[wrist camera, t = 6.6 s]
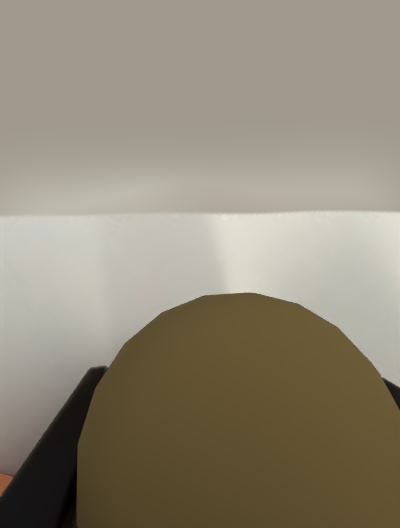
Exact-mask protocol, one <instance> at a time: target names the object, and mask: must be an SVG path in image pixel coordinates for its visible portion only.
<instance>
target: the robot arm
mask: <svg viewBox="0 0 400 528" xmlns="http://www.w3.org/2000/svg"><path fill="white" fill-rule="evenodd" d="M107 370H108V367H107V366H98V367H92V368H90V369H89V370H88V371H87V373H86V374H85V376H84V377H83V379H82V380H81V381H80V383H79V384H78V386H77V387H76V389H75V390H74V391H73V393H72V394H71V396H70V397H69V399H68V400H67V401H66V403H65V404H64V406H63V407H62V409H61V410H60V411H59V413H58V414H57V416H56V417H55V419H54V420H53V421H52V423H51V424H50V426H49V427H48V429H47V430H46V432H45V433H44V434H43V436H42V437H41V439H40V440H39V442H38V443H37V444H36V446H35V447H34V449H33V450H32V452H31V453H30V454H29V456H28V457H27V459H26V460H25V462H24V463H23V464H22V466H21V467H20V469H19V470H18V472H17V473H16V474H15V476H14V477H13V479H12V480H11V482H10V483H9V484H8V486H7V487H6V489H5V490H4V492H3V493H2V494H1V496H0V528H78V525H77V510H76V507H77V452H78V442H79V439H80V436H81V432H82V429H83V426H84V423H85V419H86V416H87V413H88V410H89V406H90V403H91V400H92V397H93V394H94V390H95V388H96V386H97V385H98V383H99V382H100V380H101V379H102V377H103V376H104V374H105V373H106V371H107ZM382 379H383V381H384V383H385V384H386V386H387V388H388V390H389V392H390V393H391V395H392V397H393V399H394V401H395V403H396V404H397V406H398V408H399V410H400V387H398V386H396V385H394V384H393V383H391V382H389V381H387V380H386V379H384V378H382Z"/></svg>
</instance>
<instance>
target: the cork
mask: <svg viewBox="0 0 400 528" xmlns="http://www.w3.org/2000/svg"><path fill="white" fill-rule="evenodd" d="M76 510H77V525H78V528H400V410H399V408H398V406H397V404H396V403H395V401H394V399H393V397H392V395H391V393H390V392H389V390H388V388H387V386H386V384H385V383H384V381H383V379H382V377H381V375H380V374H379V372H378V371H377V370H376V368H375V367H374V366H373V364H372V363H371V362H370V361H369V360H368V359H367V358H366V357H365V356H364V355H363V354H362V352H361V351H360V350H359V349H358V348H357V347H356V346H355V345H354V344H353V343H352V342H351V341H350V340H349V339H348V338H347V337H346V335H345V334H344V333H343V332H342V331H341V330H340V329H339V328H338V327H336V326H334V325H333V324H331V323H329V322H328V321H326V320H324V319H323V318H321V317H319V316H318V315H316V314H314V313H313V312H311V311H309V310H308V309H306V308H304V307H303V306H301V305H299V304H297V303H293V302H289V301H285V300H281V299H277V298H273V297H269V296H265V295H261V294H257V293H235V294H221V295H206V296H202V297H199V298H197V299H194V300H192V301H189V302H187V303H184V304H182V305H179V306H177V307H175V308H172V309H170V310H167V311H165V312H162V313H161V314H160V315H158V316H157V317H156V318H155V319H154V320H152V321H151V322H150V323H149V324H148V325H146V326H145V327H144V328H143V329H142V330H140V331H139V332H138V333H137V334H136V335H134V336H133V337H132V338H131V339H130V340H128V341H127V342H126V343H125V344H124V345H123V347H122V348H121V350H120V351H119V353H118V354H117V356H116V357H115V359H114V361H113V362H112V364H111V365H110V367H109V368H108V370H107V371H106V373H105V374H104V376H103V377H102V379H101V380H100V382H99V383H98V385H97V386H96V388H95V390H94V394H93V397H92V400H91V403H90V406H89V410H88V413H87V416H86V419H85V423H84V426H83V429H82V432H81V436H80V439H79V442H78V452H77V507H76Z"/></svg>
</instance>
